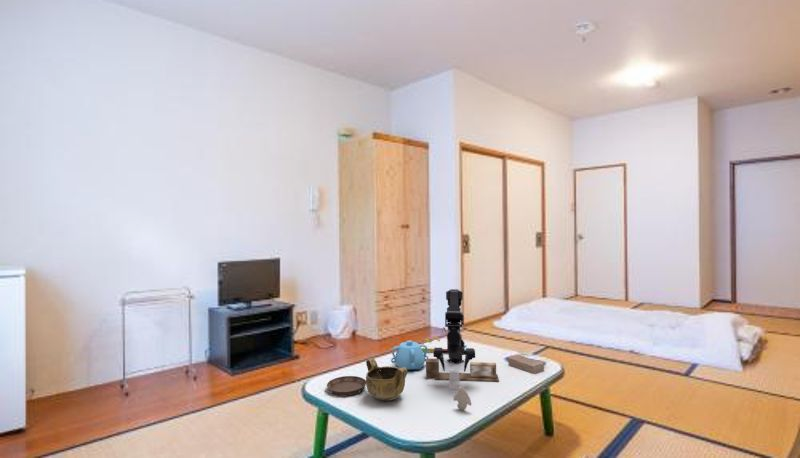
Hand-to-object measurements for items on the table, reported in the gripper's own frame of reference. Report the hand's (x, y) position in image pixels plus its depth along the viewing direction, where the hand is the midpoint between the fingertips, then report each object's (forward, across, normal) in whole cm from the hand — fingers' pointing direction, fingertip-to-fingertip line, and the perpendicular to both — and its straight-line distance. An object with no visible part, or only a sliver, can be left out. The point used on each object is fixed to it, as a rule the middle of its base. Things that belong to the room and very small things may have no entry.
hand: (454, 371), depth 194 cm
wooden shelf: (+6, +3, +10) cm, 12 cm away
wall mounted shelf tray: (+5, +14, +10) cm, 17 cm away
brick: (+7, +36, +26) cm, 45 cm away
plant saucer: (+7, -48, -8) cm, 50 cm away
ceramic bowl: (+7, -29, -16) cm, 34 cm away
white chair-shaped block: (+7, 0, 0) cm, 7 cm away
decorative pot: (+7, -23, +23) cm, 33 cm away
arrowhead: (+7, +3, -25) cm, 26 cm away
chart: (+7, -8, +48) cm, 49 cm away
